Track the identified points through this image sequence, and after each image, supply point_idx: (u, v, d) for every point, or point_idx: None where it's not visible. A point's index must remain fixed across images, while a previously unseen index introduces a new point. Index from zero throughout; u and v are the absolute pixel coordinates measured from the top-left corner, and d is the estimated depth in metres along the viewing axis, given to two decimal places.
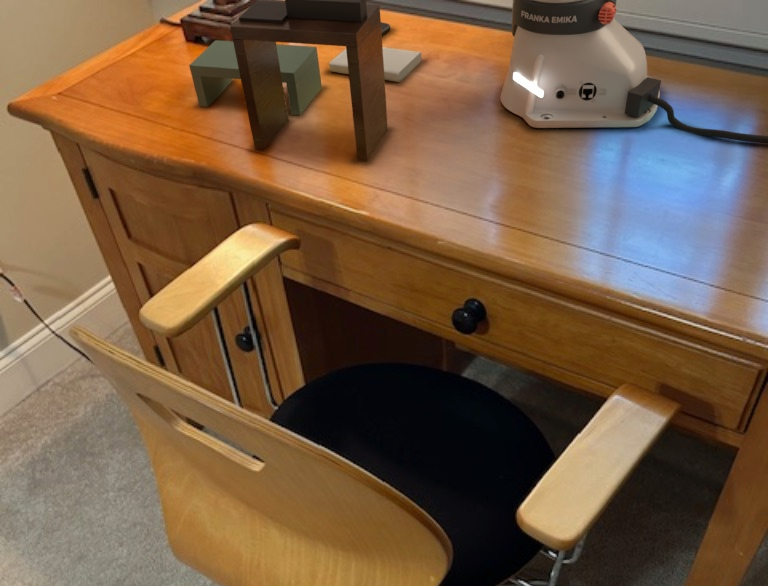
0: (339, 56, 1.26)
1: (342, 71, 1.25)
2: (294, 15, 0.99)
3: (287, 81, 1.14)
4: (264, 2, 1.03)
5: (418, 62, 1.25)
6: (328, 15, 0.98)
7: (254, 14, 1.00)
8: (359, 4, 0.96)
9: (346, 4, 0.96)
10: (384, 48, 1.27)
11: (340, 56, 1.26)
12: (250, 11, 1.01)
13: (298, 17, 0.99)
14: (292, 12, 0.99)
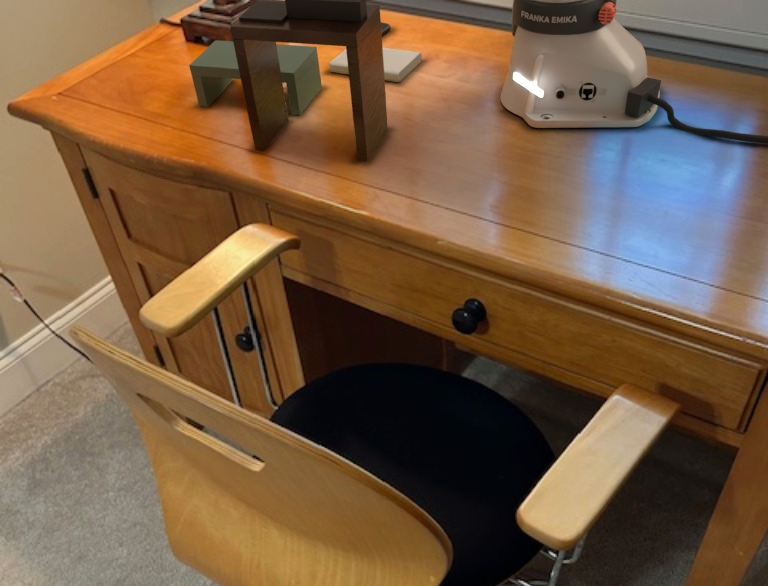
0: (339, 56, 1.26)
1: (342, 71, 1.25)
2: (294, 15, 0.99)
3: (287, 81, 1.14)
4: (264, 2, 1.03)
5: (418, 62, 1.25)
6: (328, 15, 0.98)
7: (254, 14, 1.00)
8: (359, 4, 0.96)
9: (346, 4, 0.96)
10: (384, 48, 1.27)
11: (340, 56, 1.26)
12: (250, 11, 1.01)
13: (298, 17, 0.99)
14: (292, 12, 0.99)
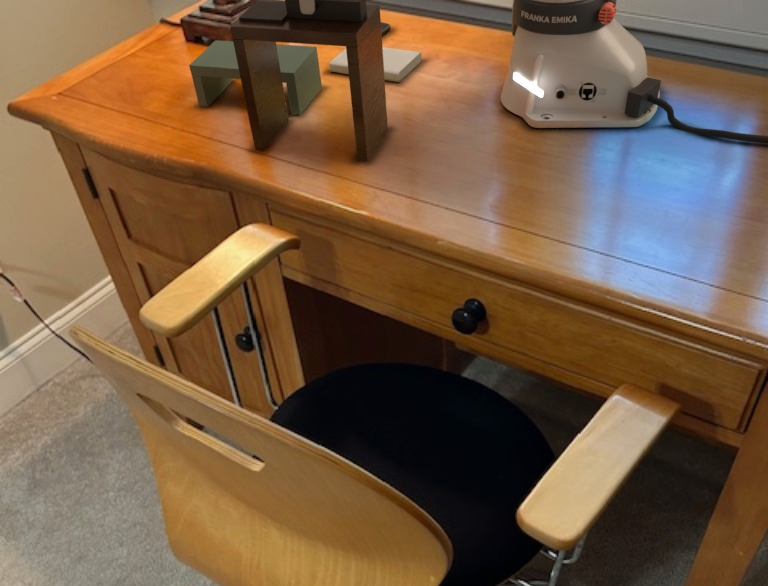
0: (339, 56, 1.26)
1: (342, 71, 1.25)
2: (294, 15, 0.99)
3: (287, 81, 1.14)
4: (264, 2, 1.03)
5: (418, 62, 1.25)
6: (328, 15, 0.98)
7: (254, 14, 1.00)
8: (359, 4, 0.96)
9: (346, 5, 0.96)
10: (384, 48, 1.27)
11: (340, 56, 1.26)
12: (250, 11, 1.01)
13: (298, 17, 0.99)
14: (292, 12, 0.99)
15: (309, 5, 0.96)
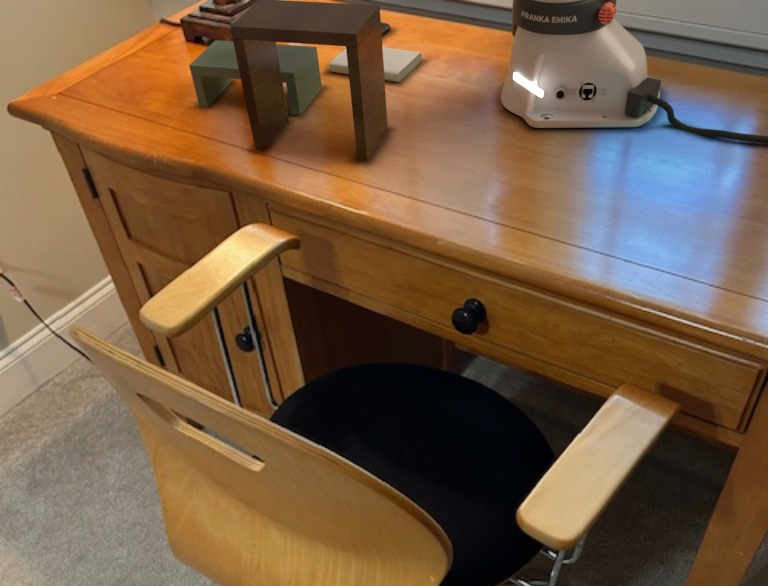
0: (339, 56, 1.26)
1: (342, 71, 1.25)
2: None
3: (287, 81, 1.14)
4: None
5: (418, 62, 1.25)
6: None
7: None
8: None
9: None
10: (384, 48, 1.27)
11: (340, 56, 1.26)
12: None
13: None
14: None
15: None
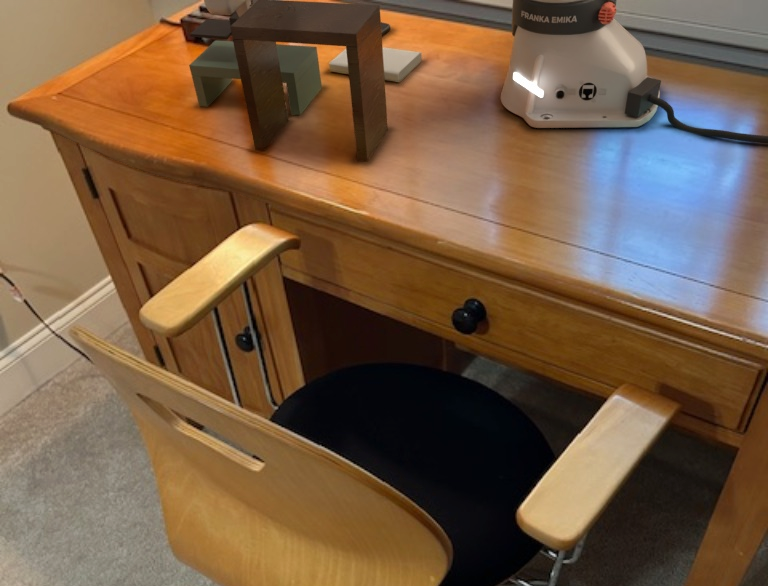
0: (339, 56, 1.26)
1: (342, 71, 1.25)
2: None
3: (287, 81, 1.14)
4: (213, 20, 1.18)
5: (418, 62, 1.25)
6: None
7: (203, 31, 1.16)
8: None
9: None
10: (384, 48, 1.27)
11: (340, 56, 1.26)
12: (200, 28, 1.16)
13: None
14: None
15: None
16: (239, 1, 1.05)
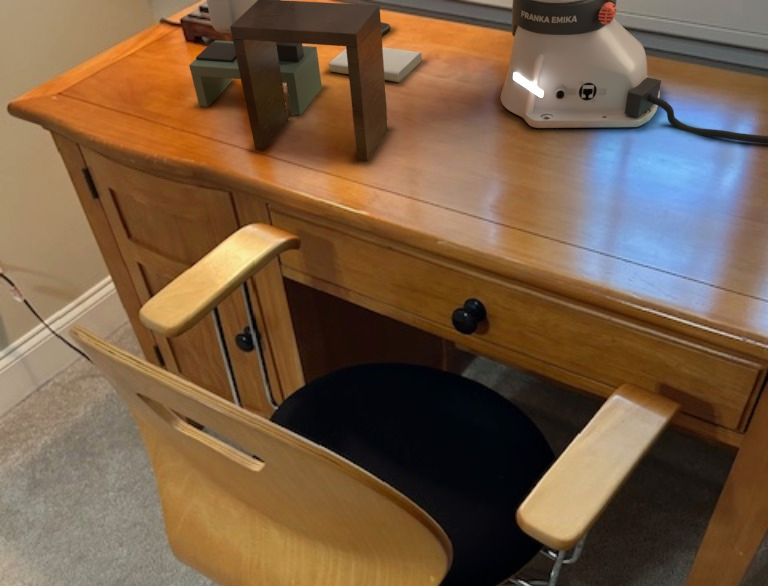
0: (339, 56, 1.26)
1: (342, 71, 1.25)
2: None
3: (287, 81, 1.14)
4: (219, 43, 1.21)
5: (418, 62, 1.25)
6: None
7: (209, 54, 1.18)
8: (295, 47, 1.14)
9: (285, 48, 1.14)
10: (384, 48, 1.27)
11: (340, 56, 1.26)
12: (206, 51, 1.19)
13: None
14: None
15: None
16: None
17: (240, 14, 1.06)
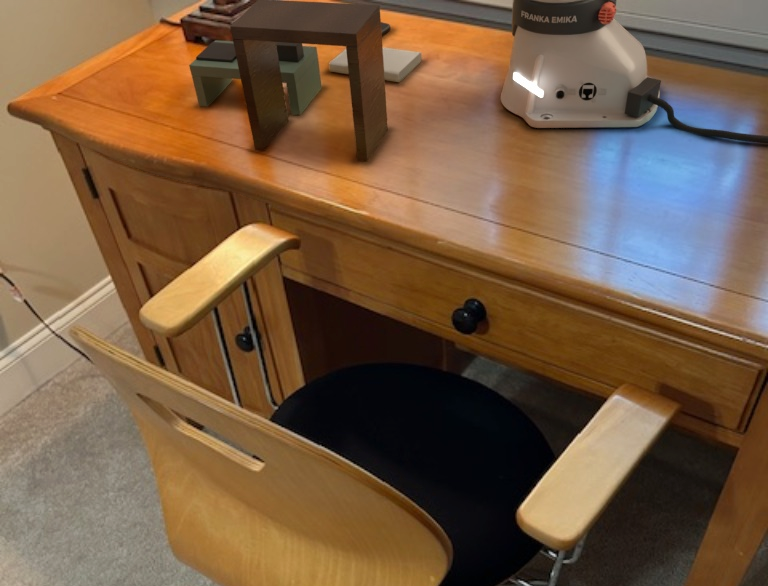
0: (339, 56, 1.26)
1: (342, 71, 1.25)
2: None
3: (287, 81, 1.14)
4: (219, 43, 1.21)
5: (418, 62, 1.25)
6: None
7: (209, 54, 1.18)
8: (295, 47, 1.14)
9: (285, 48, 1.14)
10: (384, 48, 1.27)
11: (340, 56, 1.26)
12: (206, 51, 1.19)
13: None
14: None
15: None
16: None
17: None
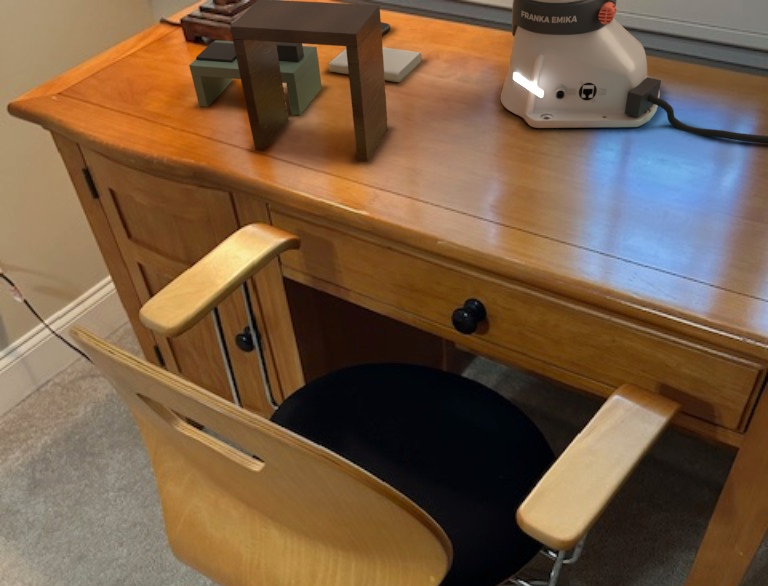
0: (339, 56, 1.26)
1: (342, 71, 1.25)
2: None
3: (287, 81, 1.14)
4: (219, 43, 1.21)
5: (418, 62, 1.25)
6: None
7: (209, 54, 1.18)
8: (295, 47, 1.14)
9: (285, 48, 1.14)
10: (384, 48, 1.27)
11: (340, 56, 1.26)
12: (206, 51, 1.19)
13: None
14: None
15: None
16: None
17: None
